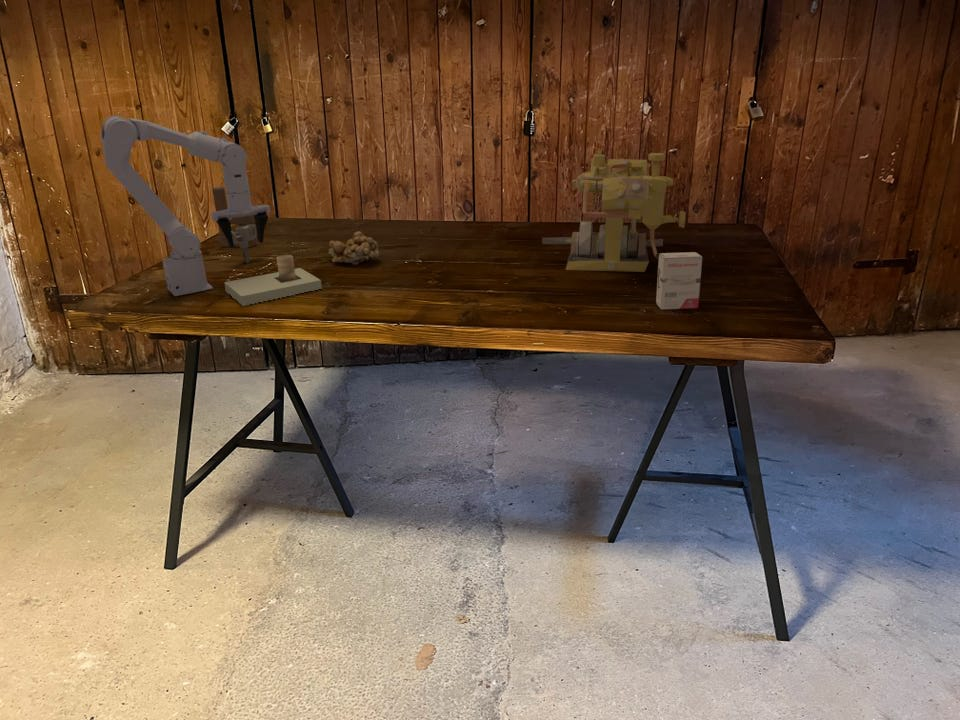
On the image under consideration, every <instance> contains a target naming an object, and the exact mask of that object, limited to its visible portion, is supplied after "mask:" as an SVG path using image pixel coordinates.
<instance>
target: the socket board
mask: <svg viewBox="0 0 960 720" xmlns="http://www.w3.org/2000/svg"><path fill="white" fill-rule="evenodd" d="M295 276H296V280H293V281H288V282H283V283H281V282H280V278H279V272H278V271H276V272H271V273H266V274H261V275H260V274H259V275H255V276H251V277H246V278H239V279H235V280H230V281H224V283H223V284H224V288H225V292H226V293H227V294H228V295H229V294H230V295H231V296H232V298H233V299H234V300H235V299H236V300H237V301H238V302H237V301H236V300H235V301H236V302H237V303H238V304H240V305H241V306H243V307H247V306H251V305H250V304H252V305H256V304H259V303H258V302H261V303H264V302H263V301H266V302H269V301H268V300H271V301H274V300H273V299H275V300H278V298H280V299H283V298H282V297H285V298H287V297H286V296H290V297H292V296H291V295H294V296H296V295H295V294H299V293H304V292H308V291H313V292H315V291H314V290H318V289H322V290H323V288H322V279H320V278H318V277H316V276H315V275H313V274H311V273H309V272H308V271H306V270H305V269H303V268H301V267H299V268H295ZM318 291H319V290H318ZM304 294H305V293H304ZM230 295H229V296H230ZM299 295H300V294H299ZM231 296H230V297H231ZM255 303H256V304H255ZM246 305H247V306H246Z"/></svg>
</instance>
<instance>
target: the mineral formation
mask: <svg viewBox="0 0 960 720" xmlns="http://www.w3.org/2000/svg"><path fill="white" fill-rule="evenodd" d="M329 247H330V248H329V249H328V255H330V256H331V257H332V260H331V262H332V263H334V264H335V263H338V264H341V263H343V262H344V263H346V264H348V263H350V264H352V265H354V266H357V264H358V265H359V263H363V262H364V261H369V259H370V258H371V259H372V258H375V259H376V258H378V257H379V255H380V251H379V246H378V243H377V241H376V240H374V239H373V238H372V237H367V236H365V235H364V233H362V231H356V232H354V233H353V235H352V238H350V239H348V240H347V241H346V243H345V242H341V241H339V240H330V241H329ZM339 262H340V263H339Z"/></svg>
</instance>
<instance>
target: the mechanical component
mask: <svg viewBox="0 0 960 720" xmlns="http://www.w3.org/2000/svg"><path fill="white" fill-rule="evenodd" d="M231 234H232V239H233V244H240V247H239V248H240V249H241V251H242V258H243V263H246V264H249V262H250V261H251V259H250V256H249V248H250V247H249V245H248V241H250V240H254V239H256V240H257V229H256V224H254V225H246V226H242V227H239V226H238V227H236V228H235V231H233V230H232V231H231ZM236 238H237V239H238V240H237V241H236ZM250 263H251V262H250Z"/></svg>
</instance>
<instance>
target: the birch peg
mask: <svg viewBox="0 0 960 720" xmlns="http://www.w3.org/2000/svg"><path fill="white" fill-rule="evenodd" d="M276 264H277V272H279V278H280V282H281V283H283V282H288V281H293V280H296V276H295V269H296V268H295V263H294V256H293V255H291V254H284V255H283V254H282V255H278V256H276Z"/></svg>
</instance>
